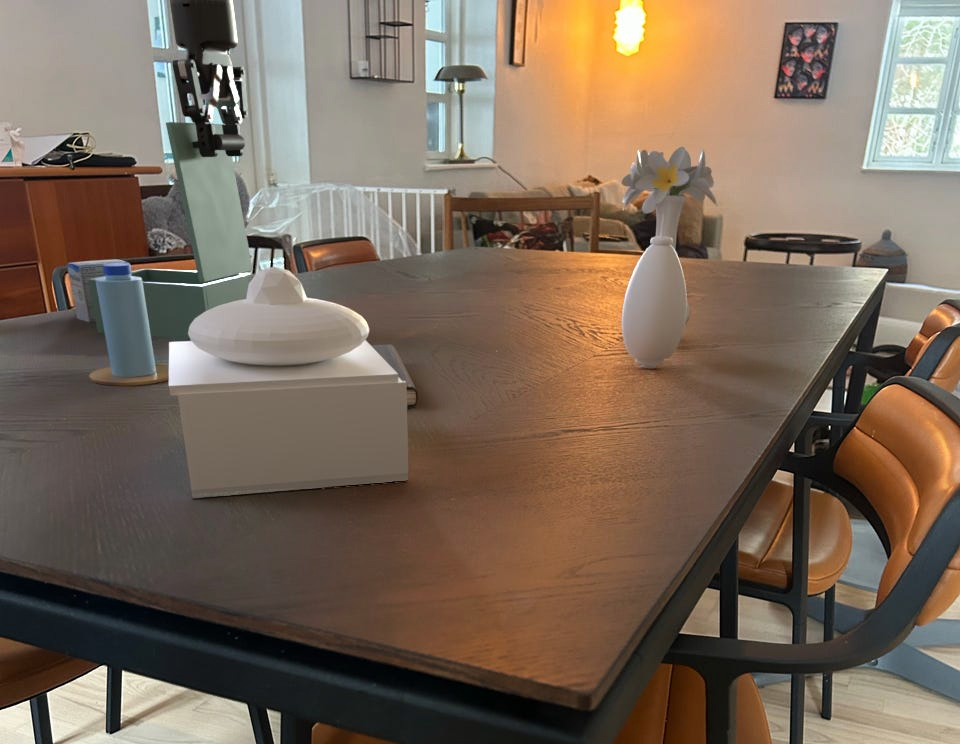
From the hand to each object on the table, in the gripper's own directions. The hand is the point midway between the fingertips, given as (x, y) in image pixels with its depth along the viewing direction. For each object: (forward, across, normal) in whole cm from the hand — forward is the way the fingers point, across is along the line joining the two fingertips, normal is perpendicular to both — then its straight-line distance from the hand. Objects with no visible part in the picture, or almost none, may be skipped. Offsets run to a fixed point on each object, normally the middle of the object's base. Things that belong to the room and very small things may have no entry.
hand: (222, 156), depth 119 cm
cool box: (+23, 0, -11) cm, 25 cm away
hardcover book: (+24, +22, +24) cm, 40 cm away
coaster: (+23, +26, -1) cm, 35 cm away
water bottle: (+23, +26, -1) cm, 34 cm away
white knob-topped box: (+24, +50, +30) cm, 63 cm away
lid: (+6, 0, -3) cm, 6 cm away
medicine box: (+22, -4, -26) cm, 34 cm away
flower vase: (+25, -22, +56) cm, 65 cm away
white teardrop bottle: (+25, 0, +57) cm, 63 cm away
